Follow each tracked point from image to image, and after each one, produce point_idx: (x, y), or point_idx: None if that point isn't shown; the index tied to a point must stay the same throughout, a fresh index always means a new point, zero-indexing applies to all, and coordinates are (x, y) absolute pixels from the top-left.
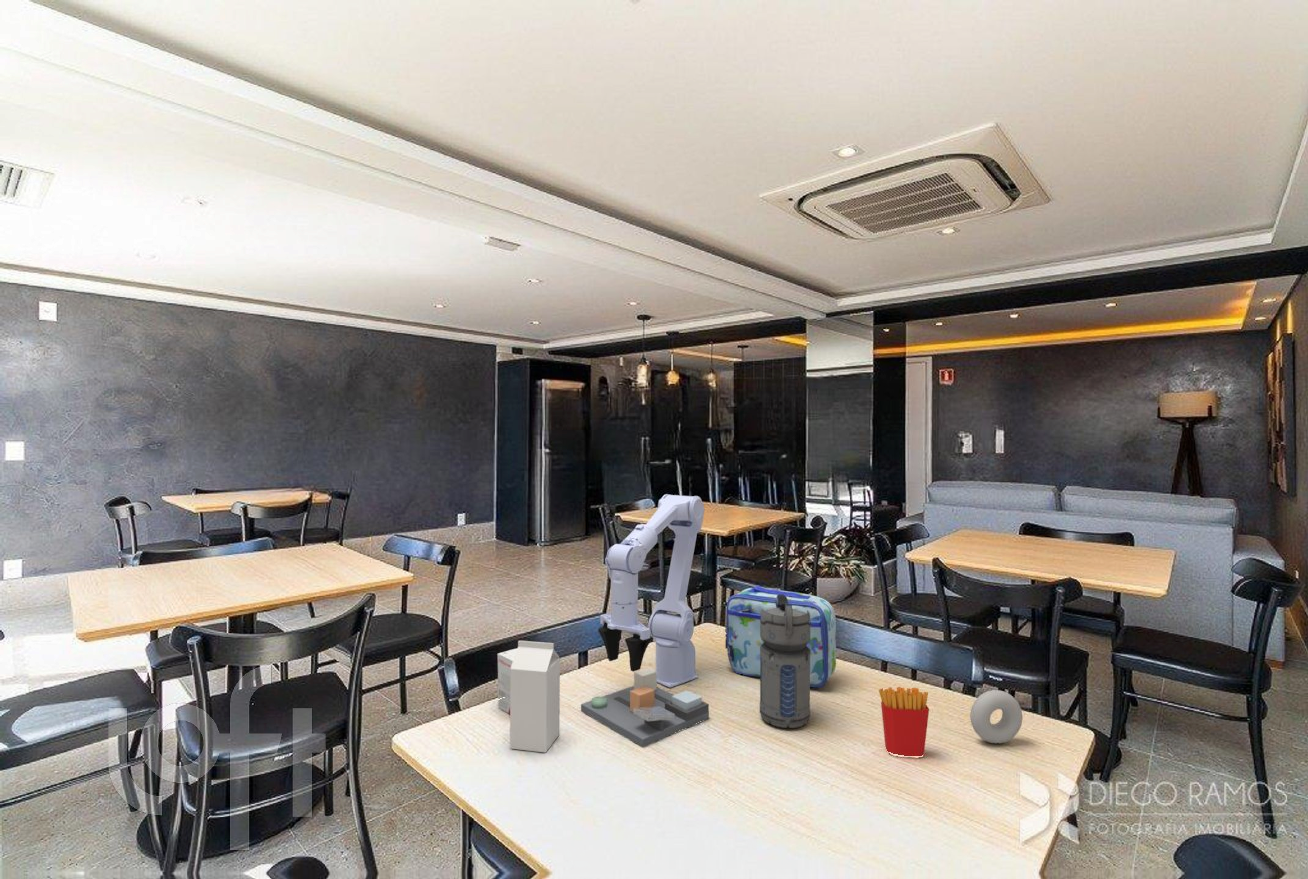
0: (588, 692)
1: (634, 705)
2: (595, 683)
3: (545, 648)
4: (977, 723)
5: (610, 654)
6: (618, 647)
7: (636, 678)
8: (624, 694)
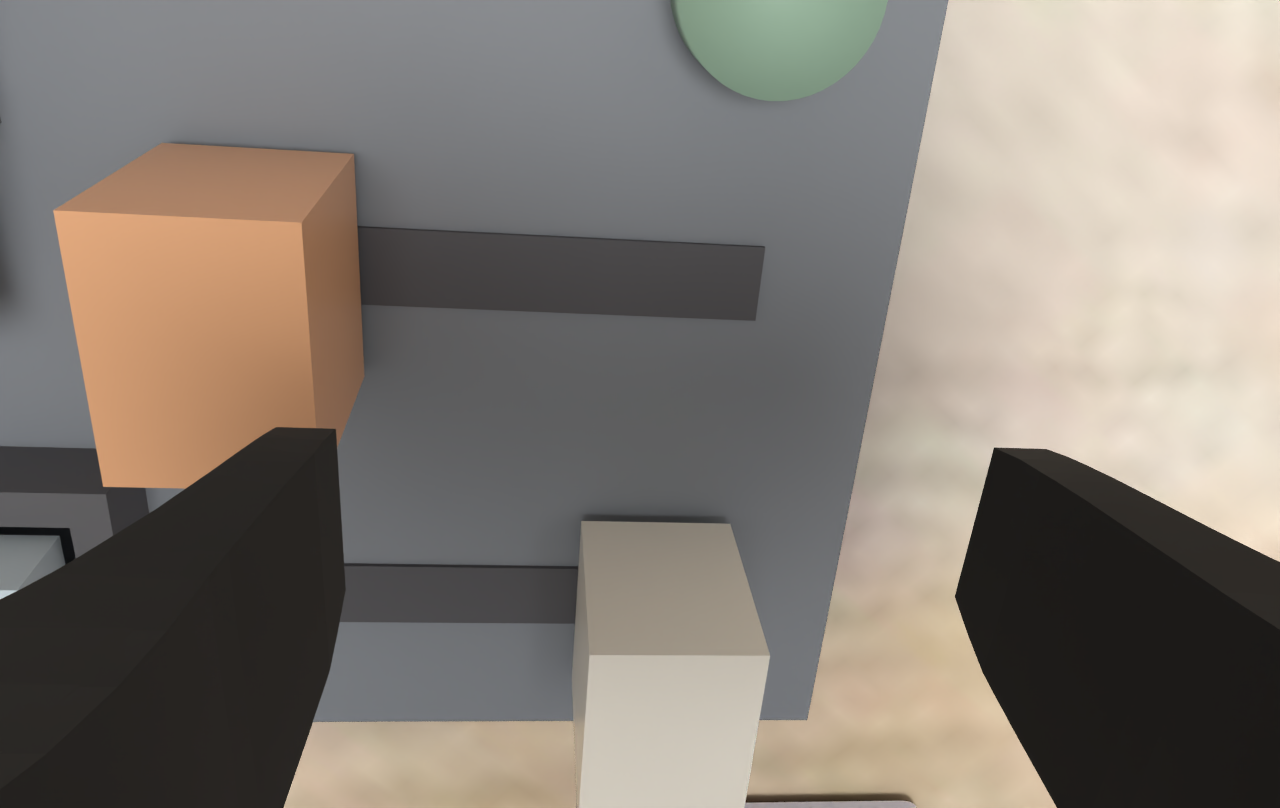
0: (1195, 243)
1: (243, 171)
2: (1262, 430)
3: None
4: None
5: (1055, 522)
6: (1051, 775)
7: (710, 611)
8: (753, 403)
